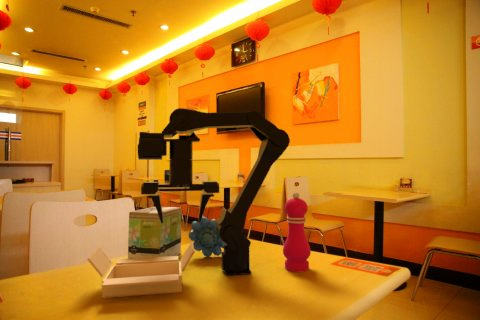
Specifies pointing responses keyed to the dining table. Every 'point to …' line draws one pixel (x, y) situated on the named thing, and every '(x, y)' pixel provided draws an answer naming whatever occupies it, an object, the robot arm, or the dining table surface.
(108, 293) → the carton
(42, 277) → the dining table surface
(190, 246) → the flap
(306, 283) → the dining table surface
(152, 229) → the tea box
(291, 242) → the pepper mill
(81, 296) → the dining table surface
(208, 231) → the blue succulent rosette
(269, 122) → the robot arm
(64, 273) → the dining table surface
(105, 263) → the flap
